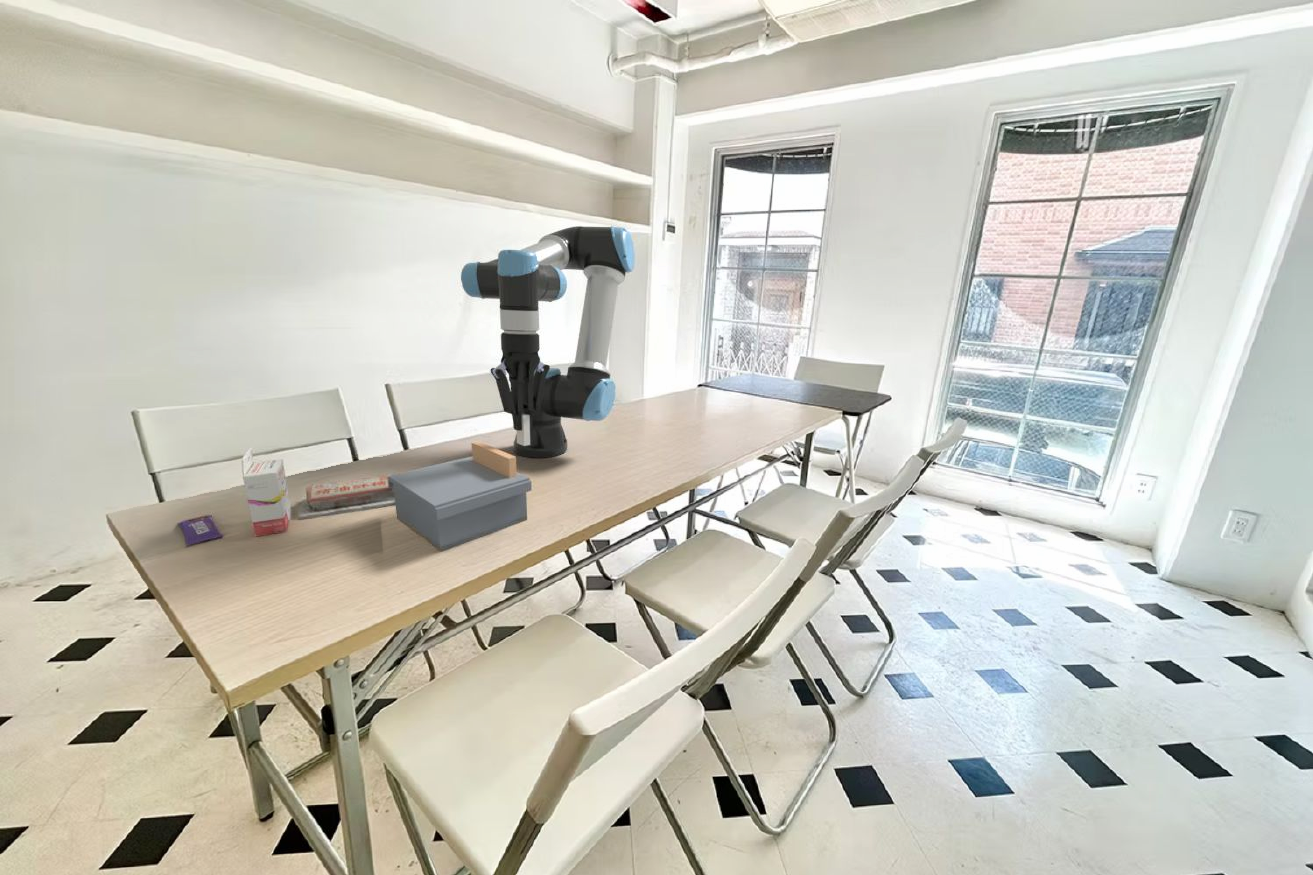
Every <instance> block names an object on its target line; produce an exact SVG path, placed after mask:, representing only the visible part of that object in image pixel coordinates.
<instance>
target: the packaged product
mask: <svg viewBox="0 0 1313 875" xmlns="http://www.w3.org/2000/svg"><path fill="white" fill-rule="evenodd" d="M388 476H389V475H385V476H379V477H376V476H375V477H370V478H369V477H368V478H361V479H351V480H344V481H336V482H330V483H329V482H327V483H319V484H313V485H312V484H311V485H309V486H306V488H305V490H306V492H305V495H303V496H302V497H301V502H300V506H299V509H298V510H299V511H298V514H297V518H298V520H299V521H300V520H307V519H314V518H318V517H325V516H326V517H328V516H334V515H340V514H347V513H348V514H349V513H355V512H360V511H367V510H368V511H369V510H373V509H379V508H385V507H392V506H393V507H394V506H395V498H394V489H393V487H391V488H389V487H388V481H387V477H388Z"/></svg>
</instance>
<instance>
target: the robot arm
mask: <svg viewBox="0 0 1313 875" xmlns="http://www.w3.org/2000/svg"><path fill="white" fill-rule="evenodd" d="M635 253H636V252H635V247H634V242H633V237H632V235H631V233H630V231H629V230H628V229H627V228H626V227H621V226H620V227H619V226H613V225H611V226H582V225H581V226H580V225H579V226H576V225H575V226H570V227H566V228H563V229H559V230H557V231H554V232H551V233H549V234H546V235H544V236H542V237H541V238H540V239H539V240H538V242H537V243H535V244H532V245H529V246H526V247H524V248H522V249H502V250H500V251H499V252H498V254H497V258H496V259H495V258H494V259H491V260H489V261H486V262H481V261H476V262H468V263H466V264H464V266H463V268H462V270H461V272H460V281H461V284H462V288H463V290H464V292H465V294H466V295H468V296H470V297H472V298H479V299H482V300H485V299H488V300H489V299H492V300H495V299H496V300H499V320H500V330H502V331H503V332H501V334H500V349H501V352H502V356H501V359H500V363H499V364H498V366H496V367H492V368H491V369H490V370H489V372H490V374H491V375H492V376H493V378H494V380H495V382H496V386H497V389H498V392H499V397H500V401H501V405H502V408H503V412H505V413H506V414H511V415H512V421H513V422H512V424H513V425H512V427H513V430H515V431H516V433H515V437H514V441H513V444H512V445H513V452H514V453H515V454H516V455H518V456H521V457H525V458H532V459H533V458H535V459H536V458H540V459H541V457H543V458H550V457H551V458H552V457H556V455H557V456H559V455H562V453H563V452H565V451H566V450H567V451H568V449H567V448H568V439H567V436H566V434H565V431H564V428H563V426H562V418H564V419H572V420H583V421H586V422H590V421H593V422H594V421H595V422H600V421H604V420H605V419H606V418H607V417H608V416H609V415H610V412H611V411H612V410H613V409H612V408H613V406H614V402H615V398H616V383H615V382H614V380H612V379H611V373H610V371H609V369H607V365H608V364H607V363H608V355H609V350H610V343H611V336H612V328H613V323H614V316H615V308H616V303H617V296H618V288H619V285H620V284H622V283H623V282H624V281H625V279H626V273H631V272H633V270H634V269H635V264H636V263H635V261H636V257H635V256H636V255H635ZM563 270H575V271H583V272H582V273H583V275H584V276H585V277H586V279H587V280H586V287H585V294H584V300H583V306H582V314H581V319H580V320H581V321H580V327H579V332H578V338H577V346H576V350H575V352H576V353H575V359H574V362H573V363H572V364H570V365H568V368H567V373H566V375H565V374H562V371H561V369H560V368H558V367H557V368H556V367H555V368H554V367H550V365H549V364H545V363H544V362H542V361H541V358H540V355H539V351H540V334H539V333H538V331H539V330H540V314H539V313H540V312H539V311H540V310H539V309H540V308H539V302H548V303H551V302H555V301H559V300H560V299H561V298H563V297H564V296H565V294H566V291H567V288H568V282H567V277H566V275H565V274H564V272H563ZM507 374H508V377H507ZM509 383H510V384H509ZM567 451H566V452H567ZM566 452H565V453H566ZM563 454H564V453H563Z"/></svg>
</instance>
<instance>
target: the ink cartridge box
mask: <svg viewBox="0 0 1313 875" xmlns="http://www.w3.org/2000/svg"><path fill="white" fill-rule="evenodd" d="M241 469H242V470H241V472H242V479H243V483H244V484H243V486H244V487H245V488H244V489H245V493H246V494H245V495H246V499H247V503H248V508H249V512H250V517H251V523H252V527H253V532H254V536H255V537H258V536H265V535H272V534H278V533H285V532H287V530H288V527H289V524H290V521H291V518H292V514H293V513H292V512H293V511H292V507H291V502H290V496H289V490H288V484H287V477H286V472H285V466H284V459H283V458H279V459H278V458H277V459H270V460H263V461H254V459H253V448H252V447H250V448H249V449H248V450H247V452H245V454H244V456H242V458H241Z"/></svg>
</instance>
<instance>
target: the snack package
mask: <svg viewBox="0 0 1313 875" xmlns="http://www.w3.org/2000/svg"><path fill="white" fill-rule="evenodd" d="M176 525H177V526H179V527H180V528H181V530H182V534H183V535H184V537H185V544H184V545H185V546H189V545H194V544H198V543H202V542H206V541H208V540H213V539H217V538H220V537H223V536H224V535H223V534H222V533H220V531H219V529H218V528H217V527H216V525H215V523H214V521H213V515H212V514H211V515H209V514H207V515H203V516H200V517H199V516H198V517H195V518H191V519H190V518H189V519H187V520H183V521H179V522H177V524H176Z"/></svg>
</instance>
